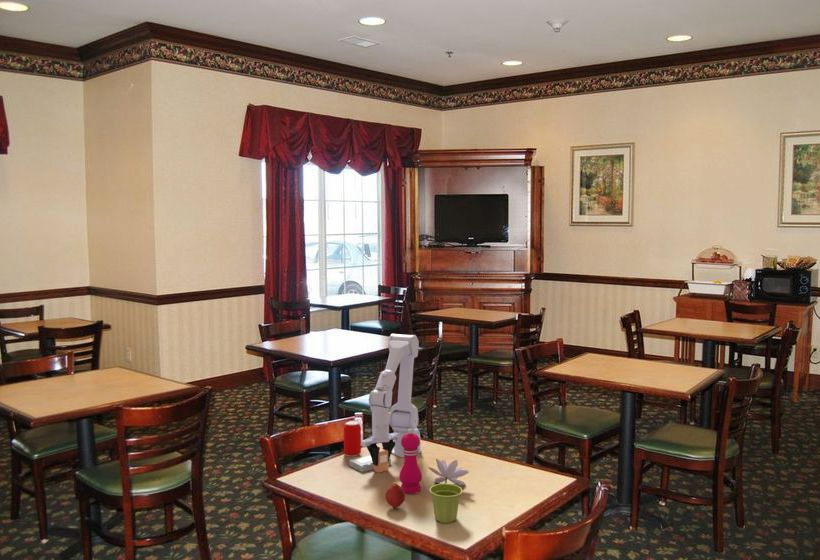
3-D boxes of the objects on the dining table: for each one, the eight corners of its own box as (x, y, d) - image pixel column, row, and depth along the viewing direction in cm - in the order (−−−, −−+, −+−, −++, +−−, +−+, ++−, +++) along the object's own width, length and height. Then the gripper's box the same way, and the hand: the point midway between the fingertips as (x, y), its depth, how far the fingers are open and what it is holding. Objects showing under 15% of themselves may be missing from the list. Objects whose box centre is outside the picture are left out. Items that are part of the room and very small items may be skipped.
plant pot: (460, 511, 204) (460, 483, 203) (464, 525, 194) (464, 495, 194) (428, 512, 203) (428, 483, 203) (430, 526, 194) (430, 496, 193)
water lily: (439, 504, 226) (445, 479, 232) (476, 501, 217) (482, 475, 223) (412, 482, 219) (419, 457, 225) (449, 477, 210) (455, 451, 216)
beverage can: (341, 453, 256) (341, 421, 255) (357, 451, 258) (357, 419, 257) (347, 458, 250) (346, 426, 249) (363, 456, 253) (363, 423, 252)
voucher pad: (377, 458, 250) (377, 452, 250) (390, 464, 244) (390, 458, 243) (349, 465, 243) (349, 459, 242) (362, 472, 236) (362, 466, 236)
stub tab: (383, 467, 240) (383, 448, 240) (388, 470, 238) (388, 450, 237) (373, 470, 238) (373, 450, 237) (378, 472, 236) (378, 452, 235)
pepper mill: (422, 486, 223) (422, 425, 222) (421, 495, 216) (420, 432, 214) (400, 485, 224) (400, 425, 222) (398, 494, 217) (397, 431, 215)
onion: (394, 502, 210) (394, 477, 210) (408, 507, 207) (408, 481, 206) (381, 508, 206) (381, 482, 205) (396, 514, 202) (396, 487, 202)
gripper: (369, 431, 229) (369, 471, 230) (404, 423, 238) (404, 462, 239) (357, 426, 235) (358, 465, 236) (392, 418, 244) (392, 456, 245)
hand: (380, 463), depth 238 cm, fingers closed on stub tab, 4 cm apart
